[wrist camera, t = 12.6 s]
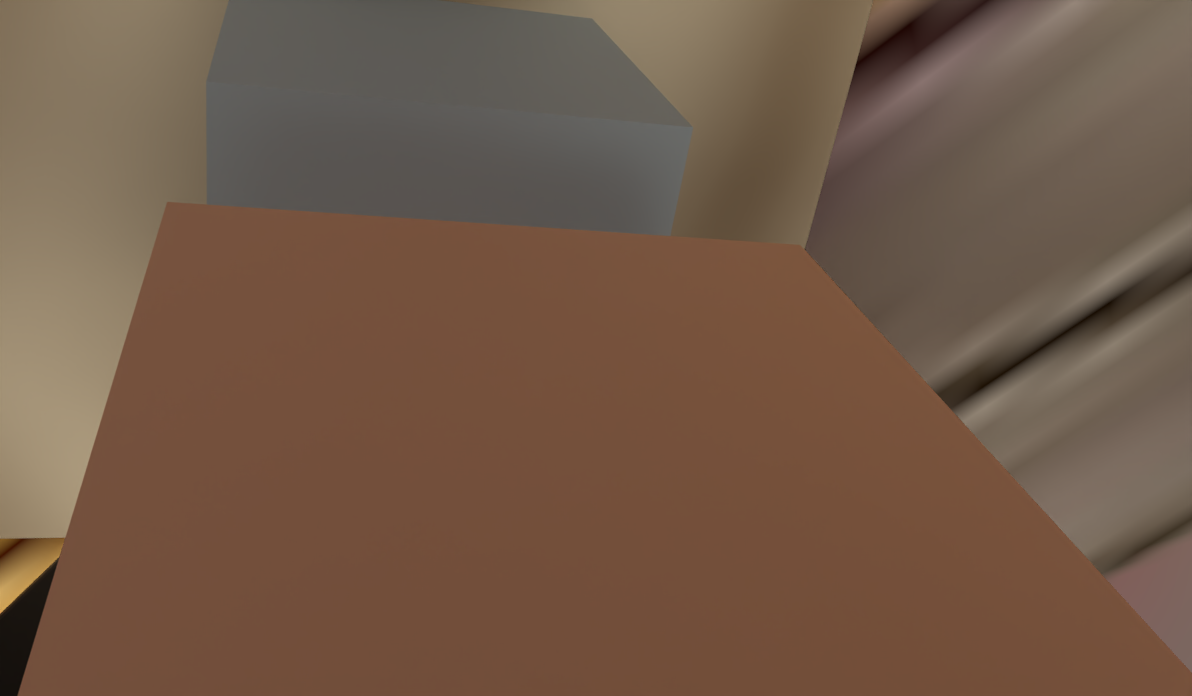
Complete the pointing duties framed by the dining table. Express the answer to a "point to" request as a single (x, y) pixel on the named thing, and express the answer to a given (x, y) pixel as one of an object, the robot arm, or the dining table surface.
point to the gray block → (438, 117)
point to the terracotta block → (546, 484)
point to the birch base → (179, 174)
